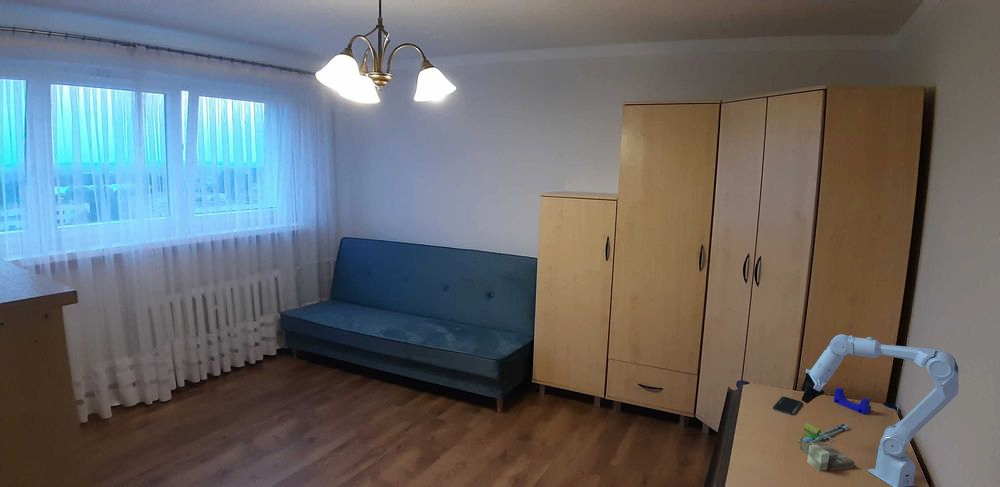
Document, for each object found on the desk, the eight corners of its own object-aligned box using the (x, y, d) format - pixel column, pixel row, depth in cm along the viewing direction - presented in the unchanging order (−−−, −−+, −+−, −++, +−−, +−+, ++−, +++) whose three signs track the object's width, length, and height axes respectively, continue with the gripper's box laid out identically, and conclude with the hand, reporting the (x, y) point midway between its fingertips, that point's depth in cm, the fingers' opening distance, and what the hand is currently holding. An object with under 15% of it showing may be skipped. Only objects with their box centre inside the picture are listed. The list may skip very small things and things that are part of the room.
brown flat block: (853, 467, 171) (854, 461, 171) (831, 470, 169) (831, 464, 169) (821, 446, 184) (822, 440, 184) (799, 448, 182) (800, 442, 182)
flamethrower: (784, 437, 189) (812, 452, 181) (785, 430, 188) (814, 445, 180) (826, 420, 204) (854, 433, 196) (828, 414, 204) (856, 426, 195)
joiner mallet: (841, 468, 171) (843, 451, 170) (819, 470, 169) (821, 453, 168) (828, 459, 176) (830, 443, 175) (807, 462, 174) (809, 445, 173)
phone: (803, 402, 217) (793, 414, 206) (802, 404, 217) (793, 416, 206) (782, 395, 222) (772, 407, 211) (782, 398, 222) (771, 409, 211)
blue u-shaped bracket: (870, 413, 211) (872, 399, 210) (863, 415, 209) (865, 400, 208) (840, 400, 222) (842, 386, 221) (833, 402, 220) (835, 388, 219)
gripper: (813, 351, 183) (792, 380, 189) (814, 368, 171) (792, 399, 176) (834, 361, 181) (812, 391, 186) (837, 380, 169) (814, 411, 174)
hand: (804, 396), depth 181 cm, fingers open, 7 cm apart
